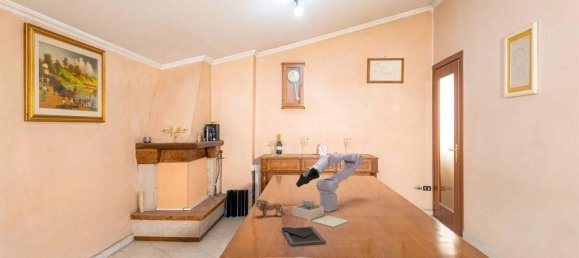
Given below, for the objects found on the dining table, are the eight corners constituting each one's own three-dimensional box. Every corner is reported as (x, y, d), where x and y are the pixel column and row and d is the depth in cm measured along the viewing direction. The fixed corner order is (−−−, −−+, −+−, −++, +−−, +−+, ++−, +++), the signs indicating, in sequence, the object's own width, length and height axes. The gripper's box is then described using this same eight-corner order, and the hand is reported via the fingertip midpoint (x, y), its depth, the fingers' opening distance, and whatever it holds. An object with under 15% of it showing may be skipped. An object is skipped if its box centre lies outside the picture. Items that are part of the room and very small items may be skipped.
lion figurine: (256, 219, 149) (256, 200, 149) (254, 216, 155) (254, 197, 154) (286, 216, 154) (286, 198, 154) (283, 213, 159) (283, 195, 159)
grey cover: (307, 205, 163) (307, 197, 163) (321, 209, 157) (321, 200, 157) (295, 209, 156) (295, 200, 156) (309, 212, 150) (309, 203, 150)
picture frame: (281, 232, 133) (291, 248, 116) (281, 227, 133) (291, 242, 116) (312, 229, 136) (325, 245, 119) (312, 225, 136) (325, 240, 119)
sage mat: (327, 216, 155) (327, 215, 155) (348, 221, 146) (348, 220, 146) (311, 221, 146) (311, 220, 146) (333, 227, 138) (333, 226, 138)
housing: (306, 211, 164) (306, 202, 164) (323, 215, 157) (324, 206, 157) (292, 215, 156) (292, 206, 156) (309, 220, 149) (309, 211, 149)
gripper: (305, 167, 167) (288, 181, 158) (321, 157, 156) (304, 171, 147) (313, 178, 167) (297, 192, 158) (329, 169, 156) (313, 184, 147)
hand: (301, 183), depth 153 cm, fingers open, 7 cm apart
